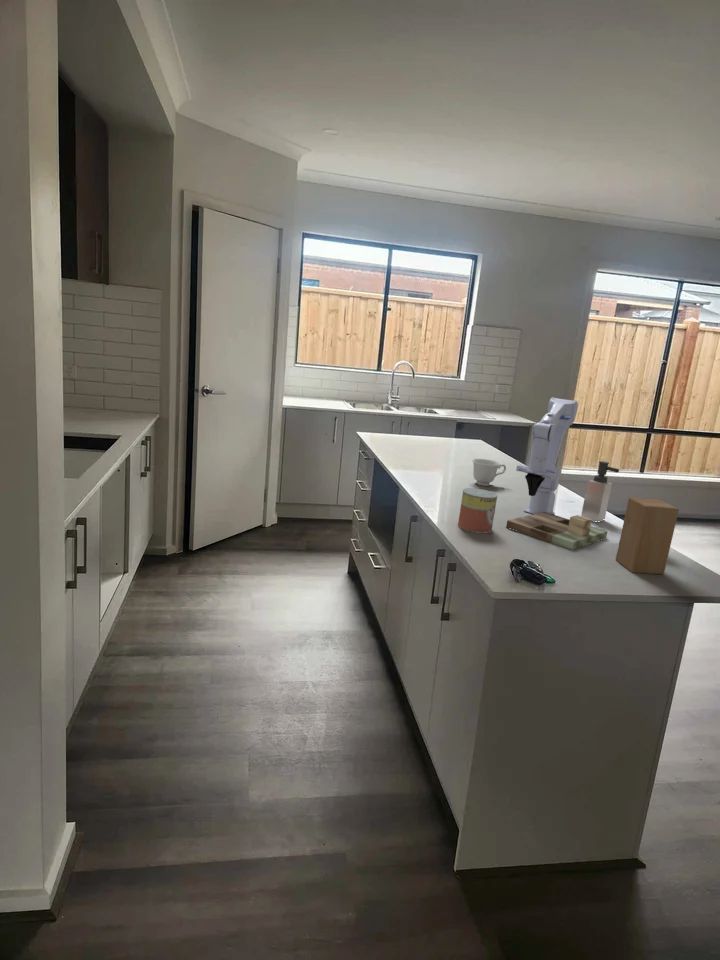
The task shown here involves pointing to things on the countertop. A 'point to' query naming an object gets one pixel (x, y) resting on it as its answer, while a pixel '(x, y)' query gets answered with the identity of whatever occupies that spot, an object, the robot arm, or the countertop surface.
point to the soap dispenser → (598, 494)
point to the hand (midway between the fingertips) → (531, 495)
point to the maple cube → (579, 525)
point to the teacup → (486, 471)
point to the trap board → (554, 530)
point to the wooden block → (646, 535)
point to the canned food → (477, 510)
